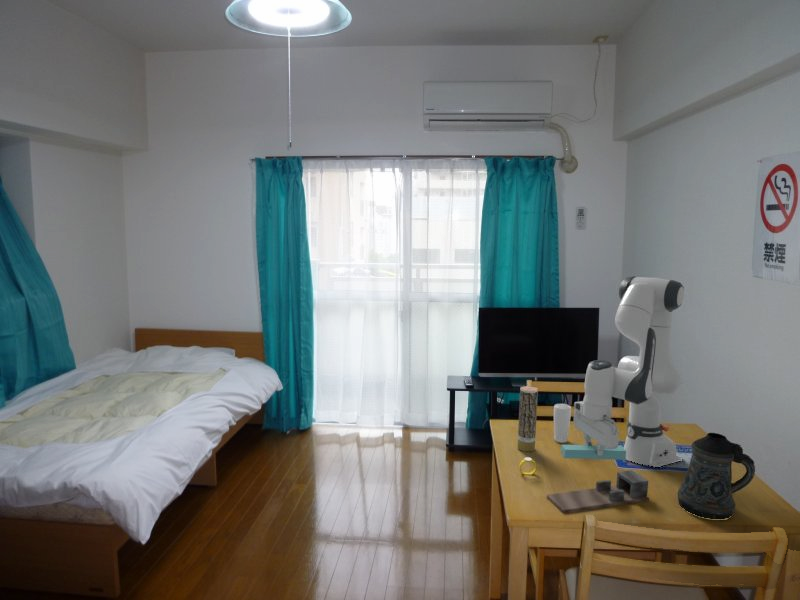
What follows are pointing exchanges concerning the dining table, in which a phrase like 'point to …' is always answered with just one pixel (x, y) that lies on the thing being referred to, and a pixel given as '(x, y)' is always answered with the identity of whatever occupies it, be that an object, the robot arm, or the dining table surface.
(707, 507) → the beer stein
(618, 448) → the slat
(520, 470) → the watch
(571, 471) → the dining table surface
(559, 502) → the end-cap base
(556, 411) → the drinking glass
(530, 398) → the brown bark cylinder
